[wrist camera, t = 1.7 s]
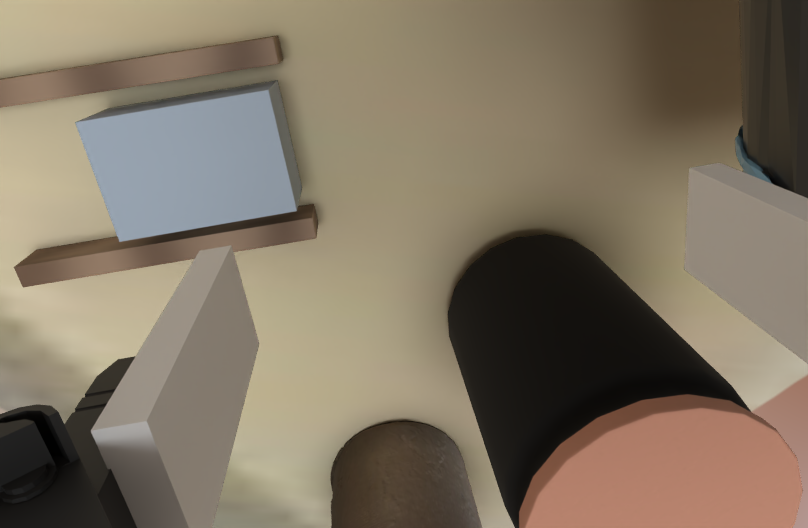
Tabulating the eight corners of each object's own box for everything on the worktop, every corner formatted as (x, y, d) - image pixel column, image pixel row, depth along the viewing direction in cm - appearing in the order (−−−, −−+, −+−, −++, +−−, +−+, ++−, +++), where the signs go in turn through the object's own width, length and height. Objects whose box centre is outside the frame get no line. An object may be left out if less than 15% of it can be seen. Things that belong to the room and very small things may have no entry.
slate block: (278, 79, 32) (268, 90, 28) (302, 186, 34) (296, 211, 30) (110, 107, 32) (74, 122, 27) (146, 213, 34) (119, 241, 30)
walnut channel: (278, 35, 31) (273, 37, 28) (318, 223, 35) (316, 238, 33) (-35, 84, 30) (-66, 90, 28) (44, 269, 34) (23, 287, 32)
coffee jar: (436, 374, 40) (503, 632, 23) (453, 223, 36) (548, 406, 19) (588, 376, 41) (754, 621, 25) (622, 230, 37) (848, 408, 20)
